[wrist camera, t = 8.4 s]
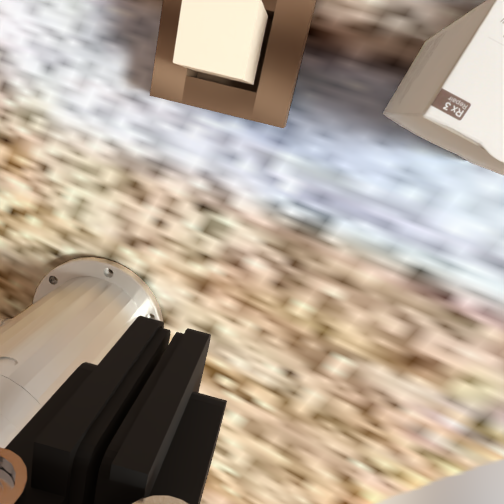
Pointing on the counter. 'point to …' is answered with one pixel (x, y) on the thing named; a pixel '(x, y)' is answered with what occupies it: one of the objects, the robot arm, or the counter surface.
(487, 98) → the skincare box
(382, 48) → the counter surface
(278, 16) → the brown slotted tray
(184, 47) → the cream key
